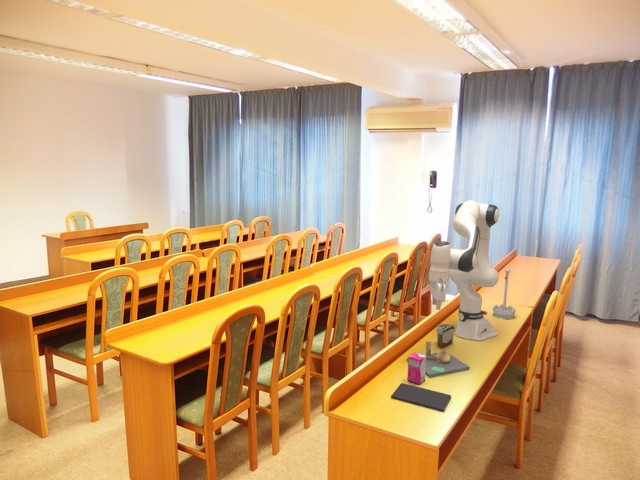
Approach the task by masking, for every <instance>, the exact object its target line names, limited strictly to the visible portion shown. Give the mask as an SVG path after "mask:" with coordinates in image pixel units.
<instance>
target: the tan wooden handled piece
mask: <svg viewBox="0 0 640 480" xmlns="http://www.w3.org/2000/svg"><path fill="white" fill-rule="evenodd" d="M439 352H440V353H438V352H436V353H437V355H432V354H433V353H432V341H426V342H425V353H420V352H418V354H422V355H425V356H427V357H430V358H435V359H437V360H436V361H437V362H438V363H441V364H448V363H450V355H451V354H450V353H449V352H447V353H443V352H444V351H439ZM448 353H449V354H450V355H449V354H448Z"/></svg>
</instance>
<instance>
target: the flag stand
mask: <svg viewBox="0 0 640 480" xmlns="http://www.w3.org/2000/svg"><path fill="white" fill-rule="evenodd" d="M504 272H505V277H504V279H505V280H504V293H503V304H500V306H499V304H494V305H493V306H492V312H493V316H494V317H495V316H496V317H495V318H497V317H498V318H497V319H500V318H502V319H501V320H512V319H511V318H513V319H514V316H515V314H516V310H517V309H516V307H513V306H511V305H508V306H507V298H508V297H507V295H508V287H509V285H508V284H509V276H510V273H511V269H510V268H508V267H507V268H505V270H504Z"/></svg>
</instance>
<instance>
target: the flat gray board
mask: <svg viewBox="0 0 640 480" xmlns="http://www.w3.org/2000/svg"><path fill="white" fill-rule="evenodd" d="M440 352H441V351H439V352H433V353H431V354H432V355H437V353H440ZM442 352H443V353H448V354H449V355H450V363H448V364H441V363H438V362H437V361H436V360H437V359H435V358H430V357H427V356H426V367H425V377H427V378H430V379H431V378H435V377H441V376H446V375H450V374H454V373H459V372H465V371H469V370H470V369H471V366H470V365H468V364H467V363H464V362H463V361H461V360H460V359H458V357H455V356H454V355H451V354H450V353H449V352H447V351H445V350H444V351H442ZM406 362H407V363H408V357H407V358H406Z"/></svg>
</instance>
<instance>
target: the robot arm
mask: <svg viewBox="0 0 640 480" xmlns="http://www.w3.org/2000/svg"><path fill="white" fill-rule="evenodd" d="M499 219H500V209H499V208H498V206H497V205H495V204H488V203H481V202H477V201H475V200H472V199H471V200H470V199H469V200H466V201H464V202H461V203H459V204H458V205H457V206H456V208H455V211H454V217H453V220H452V227H453V230H454V231H455V233H456V234H458V235H460V237H463V238H465V239H467V240H466V246H465V247H466V248H465V249H460V248H459V249H458V248H452V246H451V242H448V241H444V240H441V241H439V240H438V241H435V242H433V245H432V247H431V248H432V249H431V253H430V268H429V272H428V280H429V293H430V294H431V298H432V300H431V301H432V302H431V303H432V304H431V305H433V306H434V305H435V310H437V311H441V309H442V308H441V307H442V303H444V302H446V299H447V297H446V295H447V285H446V284H447V283H449V281H450V280H451V281H452V282H453V283H454V284H455V285H456V286H455V287H456V288H457V290H458V292H459V308H458V320H457V324H456V327H455V328H456V329H455V330H454V334H455V336H457V337H460V338H461V339H465V340H473V341H477V342H481V341H484V340H487V339H491V338H495V337H497V336H498V335H497V332H496V331H494V330H493V325H492V322H491V321H489V320H488V319H486V317H484V316H487V315H488V311H486V310H482V306H483V305H482V303H483V297H482V296H481V293H479V292H478V291H477V290H475V289H474V287H473V286H475V287H479V288H480V287H481V288H494V287H495V286H497V284H498V282H499V279H500V278H499V273H498V270H497V269H496V268H494V266H493V265H492V264H491V263H492V262H491V261H490V258H489V246H490V244H489V243H490V238H491V228H492V227H493V226H495V224H497V222H498V220H499Z"/></svg>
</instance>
